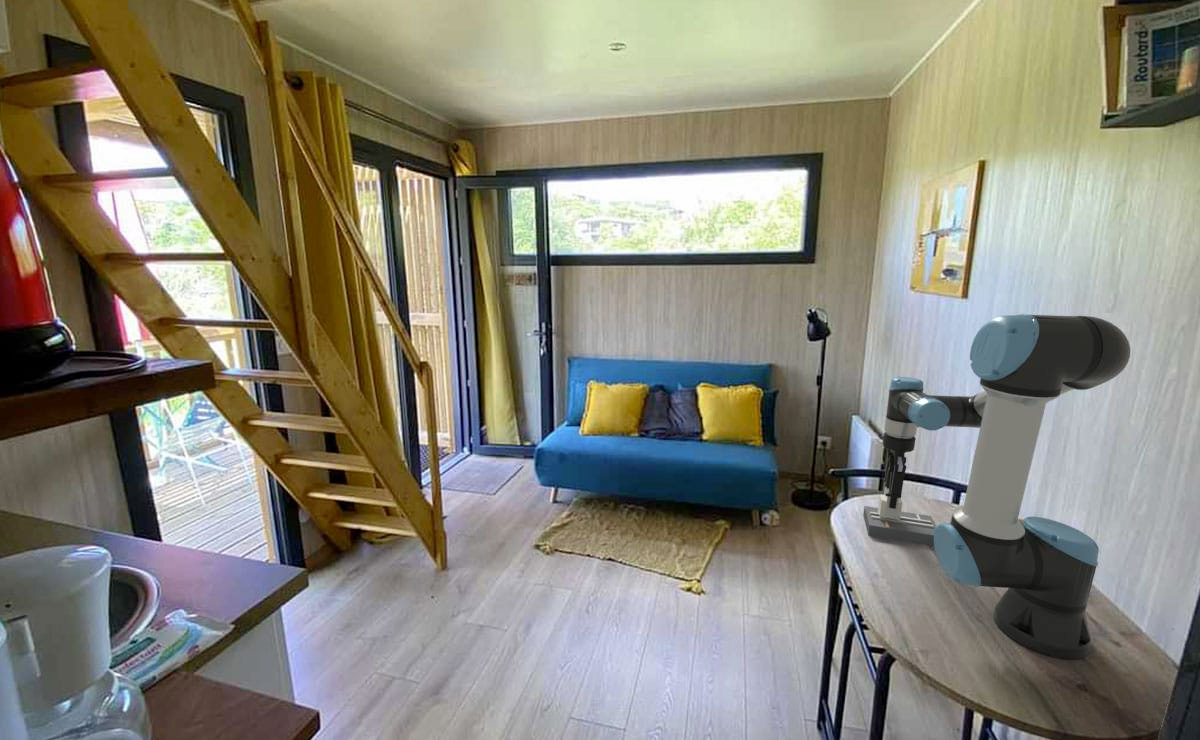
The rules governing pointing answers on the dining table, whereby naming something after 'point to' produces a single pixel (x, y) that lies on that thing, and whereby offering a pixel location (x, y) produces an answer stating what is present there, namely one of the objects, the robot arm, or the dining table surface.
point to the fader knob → (883, 505)
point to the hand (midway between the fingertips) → (888, 513)
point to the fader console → (900, 526)
